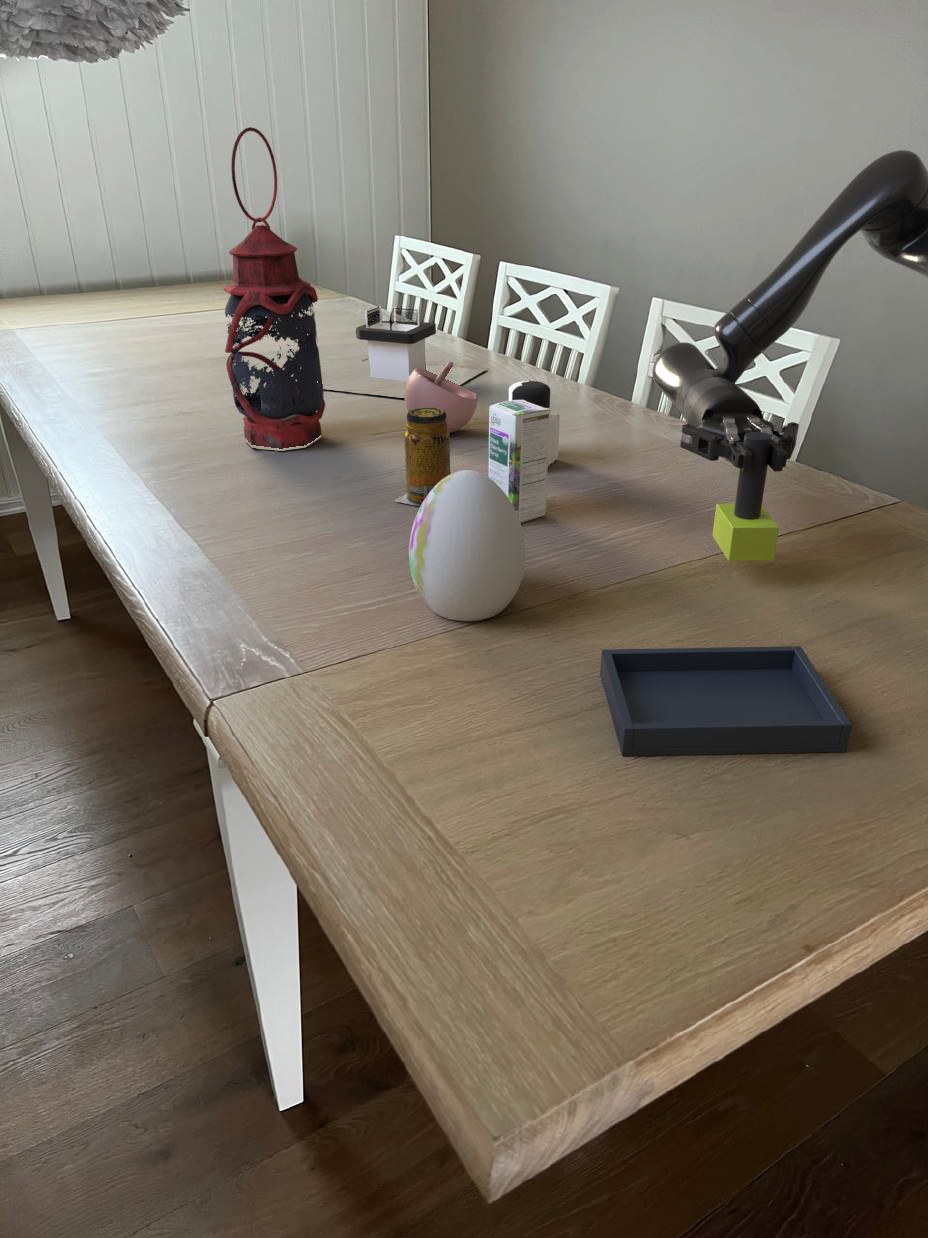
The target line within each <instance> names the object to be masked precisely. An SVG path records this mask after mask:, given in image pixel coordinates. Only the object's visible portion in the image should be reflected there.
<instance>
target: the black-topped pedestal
mask: <svg viewBox="0 0 928 1238" xmlns="http://www.w3.org/2000/svg"><path fill="white" fill-rule="evenodd" d="M364 313H365V315H364V316H365V324H362V325H360V326H357V327H355V337H356V339H357V340H361V341H367V351H368V358H369V369H370V377H376V378H384V379H392V380H401V381H408V378H409V377H410V375H411V373H412V372H413V371H414V369H417V368H420V369H424V370H426V363H427V362H426V339H427V338H430V337H431V336H434V335H436V334H437V324H436V322H427V321H425V322H424V321H421V319H420V308H417V309H414V308H413V309H412V308H400V307H399V308H398V307H396V306H393V308H392V310H391V312H390V316H389V320H383V317H382V305H379V306H377V307H375V308H372V309H368V310H365V311H364ZM414 315H415V316H414ZM415 318H416V319H415ZM416 320H417V321H416Z"/></svg>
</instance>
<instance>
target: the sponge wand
mask: <svg viewBox="0 0 928 1238" xmlns="http://www.w3.org/2000/svg"><path fill="white" fill-rule="evenodd" d="M771 441H772V436H771V435H770V434H767V433H764V432H748V433H746V434H745V436H744V444H745V445H746V446H747V447H748V448H749V450H750V451H751V452H752V461H751V468H750V472H742V471H741V470H740V469H739V472H738V479H737V488H736V495H735V503H716V505H715V513H714V520H713V528H712V535H711V536H712V537H713V539H714V541H715V543H716V544H717V546H718V547H719V549H720V550H721V552H722V553H723V555H724V556H725V558H726V560H727V561H728V562H765V561H766V562H767V561H768V562H769V561H774V560H775V556H776V549H777V543H778V539H779V538H778V537H779V530H780V526H779V525H778V524H777V522H776V521H775V519H774V518H773V517H772V516H771V515H770V514H769V512H768V511H767V510H766V509H765V507H764V506H763V501H764V493H765V487H766V482H767V481H766V480H767V473H768V468H769V467H768V466H769V465H768V461H769V454H770V448H771Z"/></svg>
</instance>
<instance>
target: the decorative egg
mask: <svg viewBox="0 0 928 1238" xmlns="http://www.w3.org/2000/svg"><path fill="white" fill-rule="evenodd" d="M524 535H525V534H524V531H523V527H522V523H520V520H519V518H518V515H517V513H516V511H515V509H514V506H513V505H512V503H511V501H510V500H509V498H508V497H507V496H506V494H505V493H504V492H503V490H502V489H501V488H500V487H499V486H498V485H497V484H496V483H495V482H494V481H493V480H491V479H490V478H488V476H487V475H485V474H483V473H481V472H479V471H476V470H470V469H463V470H457V471H453V472H452V473H451V474H450V475H448V476H446V477H445V478H444V479H442V480H441V481H440V482H439V483H438V484H437V485H436V486H435V487H434V488H433V489H432V490H431V491H430V493H429V494H428V495H427V497H426V498H425V499H424V501H423V503H422V505H421V506H419V508H418V511H417V513H416V515H415V518H414V520H413V524H412V527H411V532H410V537H409V544H408V563H409V570H410V575H411V579H412V582H413V584H414V587H415V589H416V591H417V593H418V595H419V597H420V598H421V599H422V601H423V602H424V604H426V605H427V607H428V608H429V609H430V610H431V611H432V612H433V613H435V614H436V615H438V616H440V617H442V618H445V619H448V620H451V621H458V622H478V621H482V620H485V619H486V620H487V619H489V618H492V617H495V616H497V615H499V614H500V613H501V612H502V611H504V609H506V608H507V607H508V605H510V603H511V602H512V600H514V598H515V596H516V594H517V593H518V591H519V588H520V586H521V583H522V580H523V577H524V573H525V568H526V542H525V536H524Z"/></svg>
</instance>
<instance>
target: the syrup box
mask: <svg viewBox="0 0 928 1238" xmlns="http://www.w3.org/2000/svg"><path fill="white" fill-rule="evenodd" d="M488 409H489V410H488V411H489V415H488V472H487V473H488V474H487V475H488V476H487V477H488V478H490V479H491V480H493V481H494V482H495V483H496V484H497V485H498V486H499V487H500V488H501V489H502V490H503V492H504V493H505V494H506V496H507V497H508V498H509V500H510V501H511V503H512V505H513V506H514V509H515V511H516V513H517V515H518V518H519V520H520V523H521V524H523V523H525V522H529V521H531V520H535V519H537V518H541V517H544V516H546V510H547V488H548V487H547V486H548V468H549V466H548V446H549V424H550V413H551V408H550V409H548V408H543V407H541V406H538V405H535V404H532V403H529V402H526V401H525V400H511V401H509V400H505V401H501V402H498V403H495V404H491V405H489V408H488Z"/></svg>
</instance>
